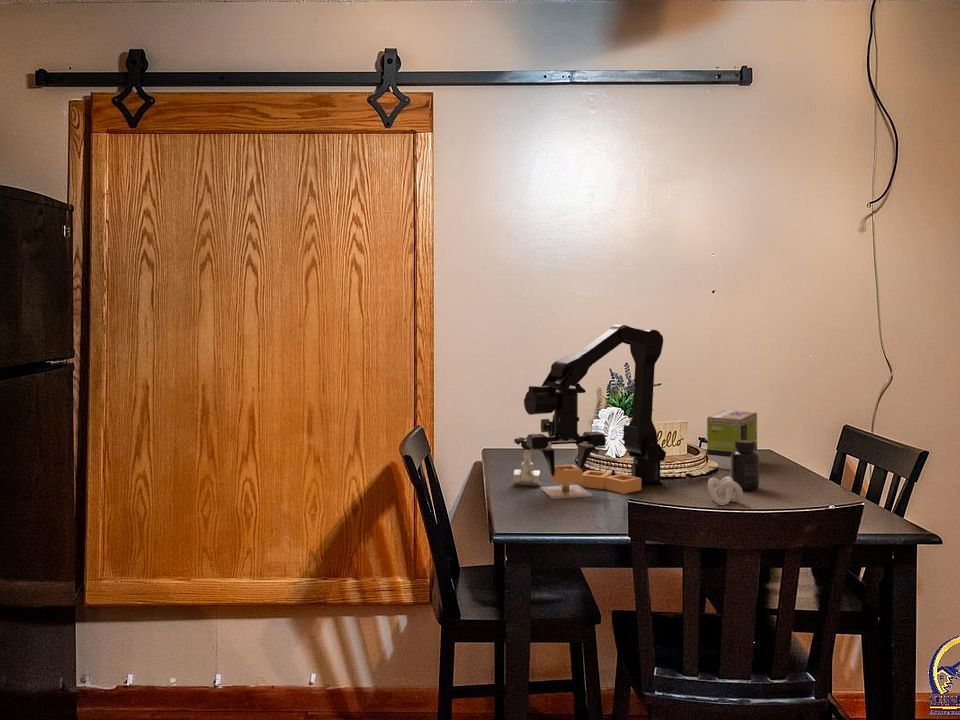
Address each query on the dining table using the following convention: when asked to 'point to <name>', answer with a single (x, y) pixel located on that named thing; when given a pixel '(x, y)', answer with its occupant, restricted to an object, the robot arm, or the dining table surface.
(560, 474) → the end link
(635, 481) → the chain link
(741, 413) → the tea box
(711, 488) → the knot
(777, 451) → the dining table surface
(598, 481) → the chain link
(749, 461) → the supplement bottle
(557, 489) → the plate with brass peg
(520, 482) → the valve
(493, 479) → the dining table surface
